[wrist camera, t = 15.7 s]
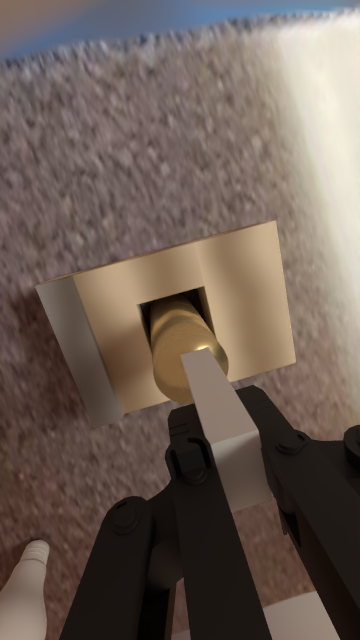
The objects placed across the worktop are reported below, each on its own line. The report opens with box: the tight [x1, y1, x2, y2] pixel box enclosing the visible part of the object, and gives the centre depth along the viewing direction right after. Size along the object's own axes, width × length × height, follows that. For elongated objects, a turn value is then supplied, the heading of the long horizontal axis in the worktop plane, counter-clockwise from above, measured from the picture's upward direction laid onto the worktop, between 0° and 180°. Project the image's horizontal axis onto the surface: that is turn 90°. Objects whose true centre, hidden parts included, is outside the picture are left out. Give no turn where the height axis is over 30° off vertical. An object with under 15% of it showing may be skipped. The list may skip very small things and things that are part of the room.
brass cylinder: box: [150, 294, 229, 404], centre depth 20 cm, size 4×4×11 cm
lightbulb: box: [0, 540, 50, 640], centre depth 26 cm, size 6×6×11 cm
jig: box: [35, 220, 296, 428], centre depth 23 cm, size 18×12×5 cm, turn 104°
